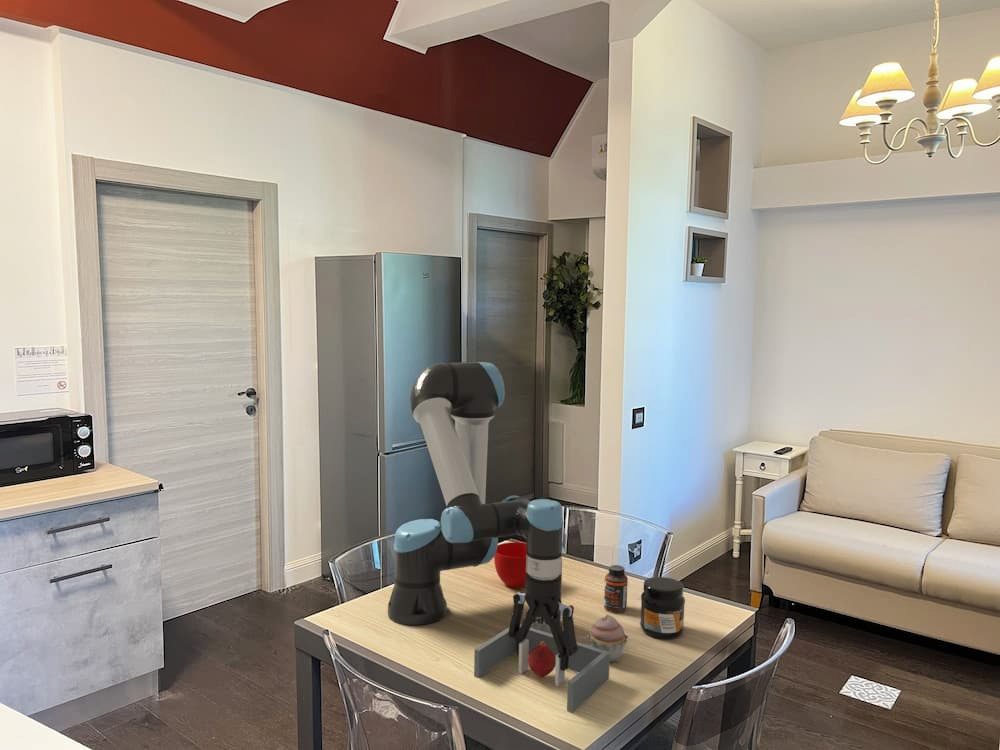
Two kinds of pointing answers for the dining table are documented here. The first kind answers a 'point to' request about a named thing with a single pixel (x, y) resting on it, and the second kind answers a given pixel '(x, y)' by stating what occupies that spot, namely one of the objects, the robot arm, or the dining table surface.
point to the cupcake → (608, 637)
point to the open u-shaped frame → (584, 661)
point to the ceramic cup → (511, 564)
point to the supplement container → (662, 608)
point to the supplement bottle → (615, 589)
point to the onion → (541, 660)
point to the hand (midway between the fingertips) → (541, 676)
